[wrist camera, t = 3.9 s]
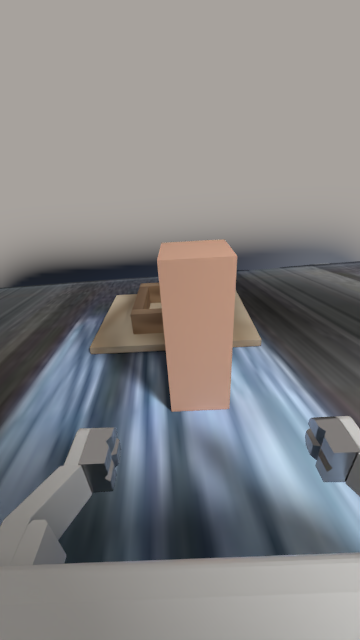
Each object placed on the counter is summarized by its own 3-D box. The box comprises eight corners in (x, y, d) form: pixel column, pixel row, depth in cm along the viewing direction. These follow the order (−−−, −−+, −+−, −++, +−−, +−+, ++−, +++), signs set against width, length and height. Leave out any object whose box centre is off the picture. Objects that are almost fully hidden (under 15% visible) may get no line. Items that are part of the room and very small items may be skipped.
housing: (234, 293, 40) (236, 273, 38) (260, 345, 28) (263, 318, 26) (117, 300, 40) (113, 279, 39) (91, 354, 28) (84, 327, 26)
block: (220, 371, 24) (224, 239, 19) (229, 409, 20) (237, 256, 15) (172, 373, 24) (161, 243, 19) (171, 411, 20) (157, 260, 15)
